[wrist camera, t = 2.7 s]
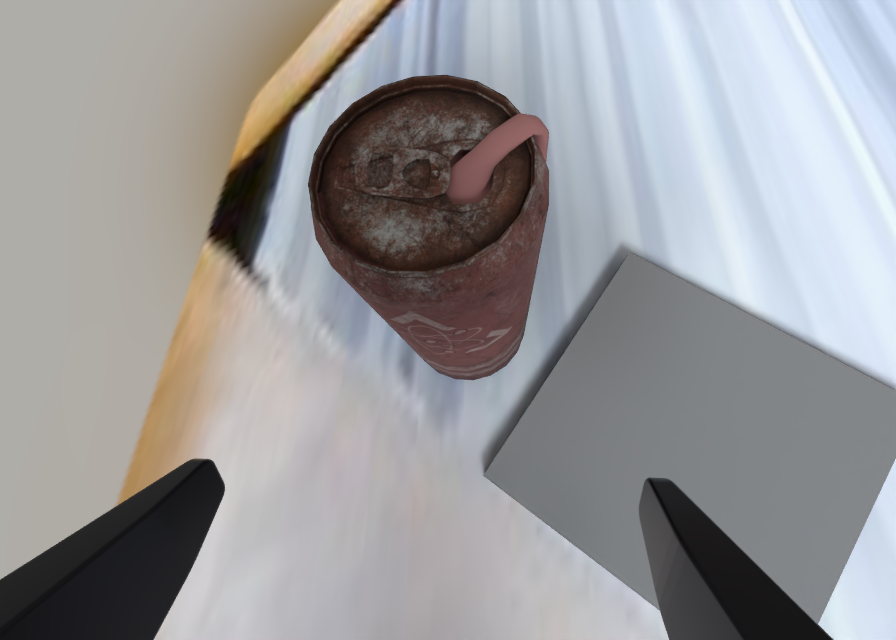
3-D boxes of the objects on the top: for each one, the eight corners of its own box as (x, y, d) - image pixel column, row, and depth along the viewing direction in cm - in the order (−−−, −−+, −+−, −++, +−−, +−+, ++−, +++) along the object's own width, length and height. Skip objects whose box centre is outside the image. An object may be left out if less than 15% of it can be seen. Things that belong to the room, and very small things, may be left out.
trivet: (767, 690, 16) (780, 703, 16) (484, 474, 20) (483, 475, 19) (904, 405, 19) (921, 403, 18) (625, 258, 22) (629, 251, 22)
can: (550, 340, 22) (623, 181, 8) (449, 402, 21) (362, 340, 8) (489, 255, 24) (471, 16, 10) (396, 311, 23) (255, 141, 10)
